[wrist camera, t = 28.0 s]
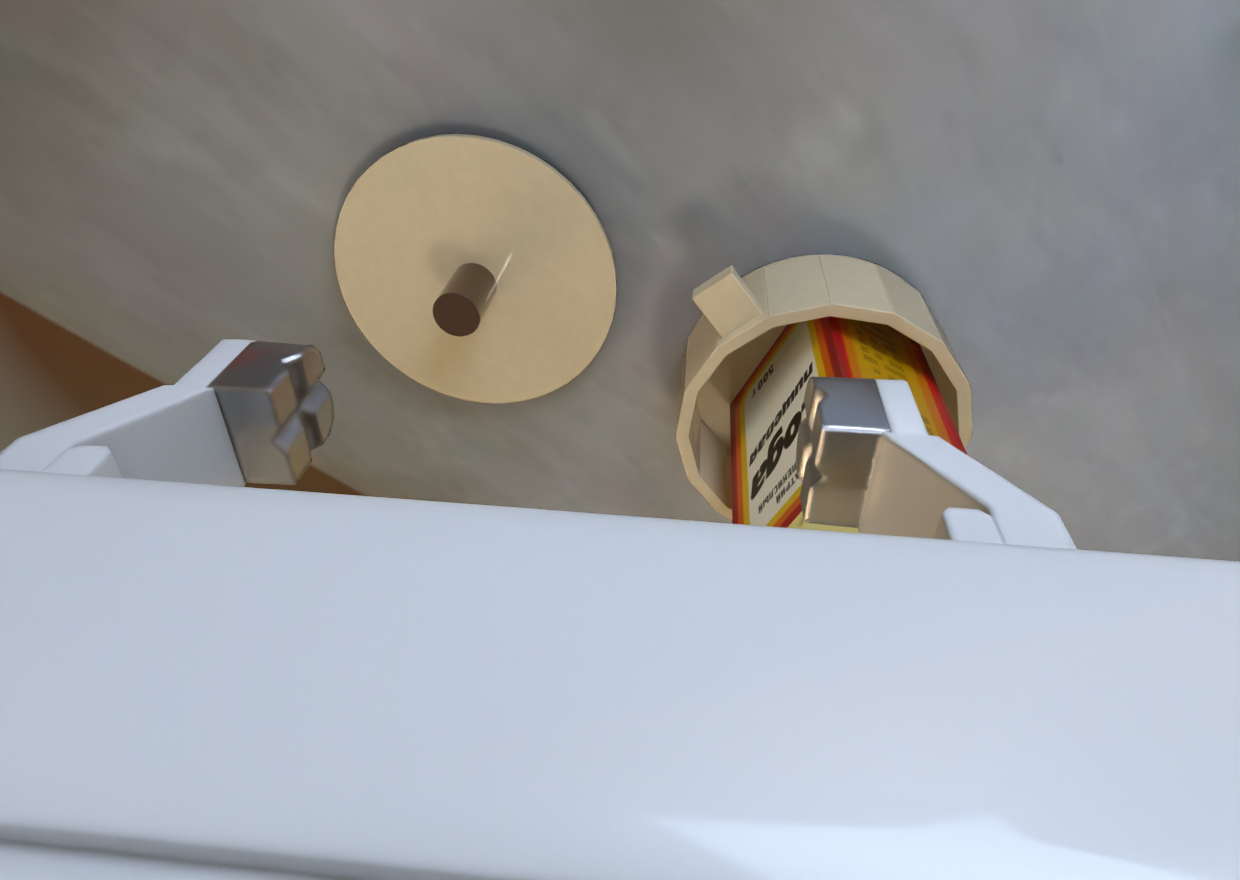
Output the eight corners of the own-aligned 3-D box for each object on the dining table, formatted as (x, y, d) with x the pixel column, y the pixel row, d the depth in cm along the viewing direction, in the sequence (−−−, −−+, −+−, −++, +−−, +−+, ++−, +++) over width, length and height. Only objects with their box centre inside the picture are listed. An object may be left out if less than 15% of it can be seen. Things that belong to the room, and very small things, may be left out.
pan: (836, 156, 40) (854, 199, 35) (1005, 431, 49) (1040, 498, 44) (604, 314, 47) (590, 370, 42) (789, 533, 55) (797, 602, 50)
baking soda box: (818, 447, 50) (852, 646, 37) (729, 404, 49) (734, 594, 36) (914, 332, 45) (994, 516, 32) (818, 281, 44) (860, 451, 31)
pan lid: (482, 62, 40) (454, 84, 35) (674, 305, 46) (670, 348, 42) (285, 246, 46) (243, 282, 42) (477, 434, 53) (457, 482, 49)
